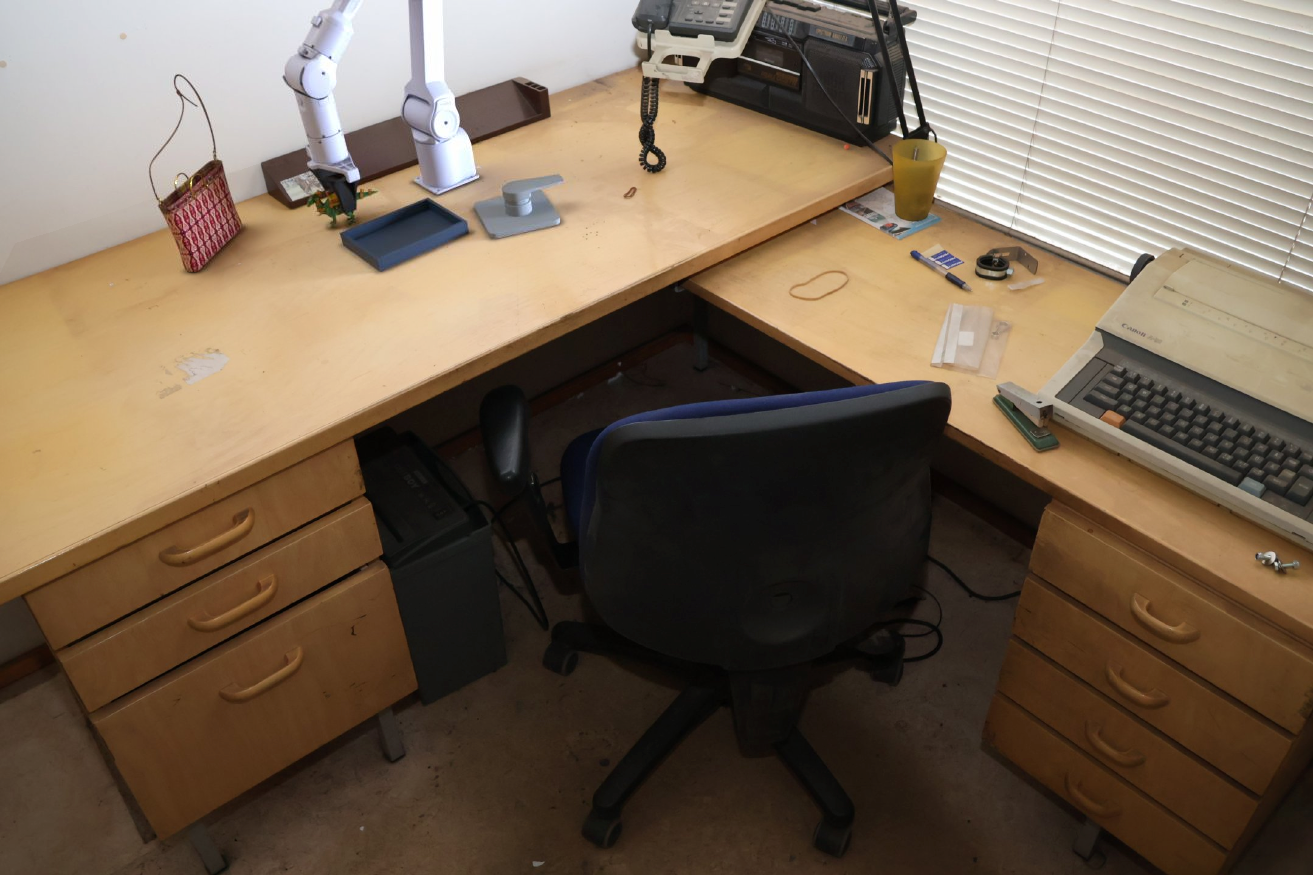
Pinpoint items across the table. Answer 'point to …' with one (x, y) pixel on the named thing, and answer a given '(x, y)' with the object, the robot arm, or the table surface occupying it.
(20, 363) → the table surface
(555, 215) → the shower valve
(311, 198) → the figurine
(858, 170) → the table surface
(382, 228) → the tray
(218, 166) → the handbag
